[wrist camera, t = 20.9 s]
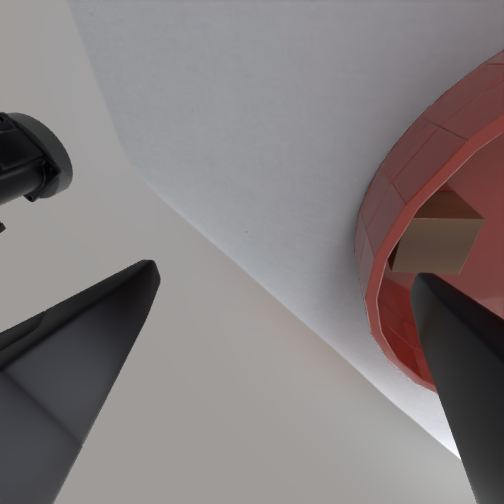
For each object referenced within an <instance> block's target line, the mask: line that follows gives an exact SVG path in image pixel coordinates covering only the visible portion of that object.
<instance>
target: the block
mask: <svg viewBox="0 0 504 504" xmlns="http://www.w3.org/2000/svg"><path fill="white" fill-rule="evenodd" d="M484 221H485V219H484V218H483V217H482V216H481V215H480V214H479V213H478V212H477V211H476V210H475V209H473V208H472V207H471V206H470V205H469V204H468V203H467V202H466V201H465V200H464V199H462V198H461V197H460V196H459V195H458V194H457V193H456V192H455V191H436V192H435V193H434V194H433V195H432V196H431V197H430V198H429V199H428V200H427V201H426V202H425V203H424V204H423V205H422V206H421V207H420V208H419V209H418V210H417V212H416V213H415V215H414V217H413V218H412V220H411V221H410V223H409V225H408V226H407V228H406V229H405V231H404V233H403V234H402V236H401V237H400V239H399V241H398V242H397V244H396V245H395V247H394V249H393V250H392V252H391V253H390V255H389V256H388V258H387V261H388V264H389V267H390V269H391V271H393V272H412V273H420V272H424V273H434V274H450V275H459V274H460V272H461V270H462V268H463V266H464V264H465V261H466V259H467V257H468V255H469V253H470V251H471V249H472V247H473V244H474V242H475V240H476V238H477V236H478V234H479V232H480V230H481V227H482V225H483V223H484Z"/></svg>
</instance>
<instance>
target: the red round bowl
mask: <svg viewBox="0 0 504 504" xmlns="http://www.w3.org/2000/svg"><path fill="white" fill-rule="evenodd" d="M436 191H455V192H456V193H457V194H458V195H459V196H460V197H461V198H462V199H464V200H465V201H466V202H467V203H468V204H469V205H470V206H471V207H472V208H473V209H475V210H476V211H477V212H478V213H479V214H480V215H481V216H482V217H483V218H484V219H485V221H484V223H483V225H482V227H481V230H480V232H479V234H478V236H477V238H476V240H475V242H474V244H473V247H472V249H471V251H470V253H469V255H468V257H467V259H466V261H465V264H464V266H463V268H462V270H461V272H460V274H459V275H450V274H436V275H437V276H439V277H440V278H442V279H443V280H445V281H446V282H448V283H449V284H451V285H452V286H454V287H455V288H457V289H458V290H460V291H461V292H463V293H464V294H466V295H467V296H469V297H471V298H472V299H474V300H475V301H477V302H478V303H480V304H481V305H483V306H484V307H486V308H487V309H489V310H490V311H492V312H493V313H495V314H496V315H498V316H499V317H501V318H502V319H504V50H503V51H502V52H500V53H499V54H497V55H495V56H494V57H492V58H491V59H489V60H488V61H486V62H485V63H483V64H481V65H480V66H479V67H477V68H476V69H475V70H473V71H472V72H471V73H470V74H468V75H467V76H466V77H464V78H463V79H462V80H460V81H459V82H458V83H457V84H455V85H454V86H453V87H451V88H450V89H449V90H448V91H446V92H445V93H444V94H443V95H442V96H441V97H440V98H439V99H438V100H437V101H436V102H435V103H434V104H432V105H431V106H430V107H429V108H428V109H427V110H426V111H425V112H424V113H423V114H422V115H421V116H420V117H419V118H418V119H417V120H416V121H415V122H414V123H413V125H412V126H411V127H410V128H409V129H408V130H407V131H406V132H405V134H404V135H403V136H402V137H401V138H400V139H399V140H398V142H397V143H396V144H395V146H394V147H393V149H392V150H391V151H390V153H389V154H388V156H387V157H386V158H385V160H384V161H383V163H382V164H381V166H380V167H379V169H378V171H377V173H376V175H375V177H374V178H373V180H372V182H371V184H370V186H369V188H368V190H367V193H366V195H365V198H364V200H363V203H362V205H361V208H360V212H359V216H358V220H357V225H356V233H355V244H354V251H355V257H356V263H357V269H358V274H359V280H360V285H361V289H362V294H363V299H364V304H365V309H366V314H367V318H368V323H369V328H370V333H371V335H372V336H373V338H374V340H375V341H376V343H377V344H378V346H379V348H380V349H381V351H382V352H383V354H384V356H385V357H386V359H387V360H388V361H389V362H390V363H391V364H392V365H393V366H395V367H396V368H397V369H398V370H400V371H401V372H402V373H403V374H405V375H406V376H407V377H408V378H409V379H411V380H412V381H413V382H415V383H416V384H418V385H420V386H423V387H425V388H427V389H429V390H431V391H433V392H435V393H437V394H438V392H437V390H436V387H435V384H434V381H433V378H432V376H431V373H430V370H429V367H428V364H427V362H426V359H425V356H424V353H423V350H422V347H421V344H420V341H419V337H418V333H417V328H416V324H415V319H414V315H413V310H412V306H411V301H410V291H411V288H412V285H413V283H414V280H415V277H416V275H417V274H418V273H412V272H393V271H391V269H390V267H389V264H388V261H387V258H388V256H389V255H390V253H391V252H392V250H393V249H394V247H395V245H396V244H397V242H398V241H399V239H400V237H401V236H402V234H403V233H404V231H405V229H406V228H407V226H408V225H409V223H410V221H411V220H412V218H413V217H414V215H415V213H416V212H417V210H418V209H419V208H420V207H421V206H422V205H423V204H424V203H425V202H426V201H427V200H428V199H429V198H430V197H431V196H432V195H433V194H434V193H435V192H436Z"/></svg>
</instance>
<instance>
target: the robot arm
mask: <svg viewBox="0 0 504 504" xmlns="http://www.w3.org/2000/svg"><path fill="white" fill-rule="evenodd" d="M61 173H62V171H61V169H60V168H59V167H58V166H57V165H56V164H55V163H54V162H53V161H52V160H51V159H50V158H49V157H48V156H47V154H46V153H45V152H44V151H43V150H42V149H41V148H40V147H39V146H38V145H37V144H36V143H35V142H34V141H33V140H32V139H31V138H30V137H29V136H28V135H27V134H26V133H25V132H24V131H23V130H22V129H21V128H20V127H19V126H18V125H17V124H16V123H15V122H14V121H13V120H12V119H11V118H10V117H9V116H8V115H7V114H6V113H4V112H0V206H1V205H3V204H5V203H7V202H10V201H12V200H14V199H16V198H18V197H21V196H24V197H25V198H26V199H27V200H29V201H31V202H34V201H36V200H37V199H39V197H40V196H41V195H42V194H43V193H44V192H45V191H46V190H47V189H48V188H49V187H50V186H51V185H52V183H53V182H54V181H55V180H56V179H57V178H58V177H59V176H60V175H61ZM5 229H6V228H5V226H4V225H3V223H1V222H0V233H1V232H2V231H3V230H5ZM159 285H160V275H159V272H158V269H157V266H156V264H155V262H154V261H153V260H141V261H139V262H137V263H135V264H133V265H131V266H129V267H127V268H126V269H124V270H122V271H120V272H118V273H116V274H114V275H112V276H110V277H108V278H106V279H105V280H103V281H101V282H99V283H97V284H95V285H93V286H91V287H89V288H87V289H85V290H84V291H81V292H80V293H78V294H76V295H74V296H72V297H70V298H68V299H66V300H64V301H62V302H60V303H58V304H57V305H55V306H53V307H51V308H49V309H47V310H46V311H43V312H41V313H39V314H37V315H36V316H34V317H31V318H30V319H28V320H26V321H24V322H22V323H20V324H18V325H16V326H14V327H12V328H10V329H7V330H6V331H3V332H1V333H0V504H54V502H55V500H56V498H57V496H58V494H59V492H60V490H61V488H62V486H63V484H64V482H65V480H66V478H67V476H68V474H69V472H70V470H71V468H72V466H73V464H74V462H75V460H76V459H77V457H78V454H79V453H80V451H81V448H82V445H83V444H84V442H85V440H86V438H87V436H88V434H89V432H90V430H91V428H92V426H93V424H94V422H95V420H96V418H97V416H98V414H99V412H100V410H101V408H102V406H103V404H104V402H105V400H106V398H107V396H108V394H109V392H110V390H111V388H112V386H113V384H114V382H115V381H116V379H117V377H118V374H119V373H120V370H121V368H122V367H123V365H124V363H125V361H126V359H127V356H128V354H129V353H130V351H131V349H132V347H133V345H134V343H135V341H136V338H137V336H138V335H139V333H140V331H141V329H142V327H143V325H144V323H145V321H146V318H147V316H148V314H149V311H150V309H151V306H152V303H153V300H154V298H155V295H156V292H157V290H158V287H159ZM410 301H411V306H412V310H413V315H414V319H415V324H416V328H417V333H418V337H419V341H420V344H421V347H422V350H423V353H424V356H425V359H426V362H427V364H428V367H429V370H430V373H431V376H432V378H433V381H434V384H435V387H436V390H437V392H438V395H439V398H440V401H441V404H442V406H443V409H444V412H445V415H446V418H447V421H448V423H449V426H450V429H451V432H452V435H453V437H454V440H455V443H456V446H457V449H458V451H459V454H460V457H461V460H462V463H463V465H464V468H465V471H466V474H467V477H468V479H469V482H470V485H471V488H472V491H473V493H474V496H475V499H476V502H477V504H504V319H502V318H501V317H499V316H498V315H496V314H495V313H493V312H492V311H490V310H489V309H487V308H486V307H484V306H483V305H481V304H480V303H478V302H477V301H475V300H474V299H472V298H471V297H469V296H467V295H466V294H464V293H463V292H461V291H460V290H458V289H457V288H455V287H454V286H452V285H451V284H449V283H448V282H446V281H445V280H443V279H442V278H440V277H439V276H437V275H436V274H434V273H424V272H420V273H418V274H417V275H416V277H415V280H414V283H413V285H412V288H411V291H410Z"/></svg>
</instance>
